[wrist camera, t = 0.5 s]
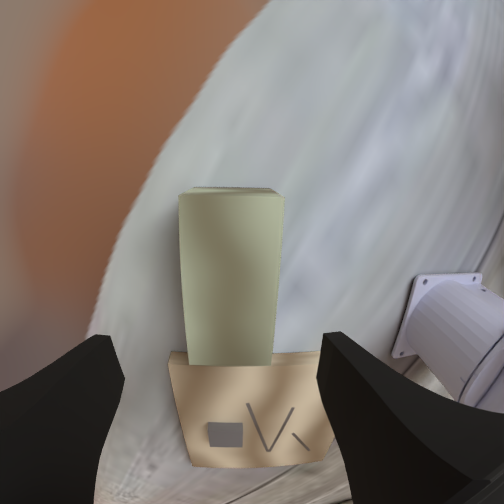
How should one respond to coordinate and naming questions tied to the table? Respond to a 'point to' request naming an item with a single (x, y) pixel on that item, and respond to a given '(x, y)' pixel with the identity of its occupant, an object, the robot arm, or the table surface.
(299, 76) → the table surface
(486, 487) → the robot arm
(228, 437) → the small gray block
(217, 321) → the block
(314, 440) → the board
